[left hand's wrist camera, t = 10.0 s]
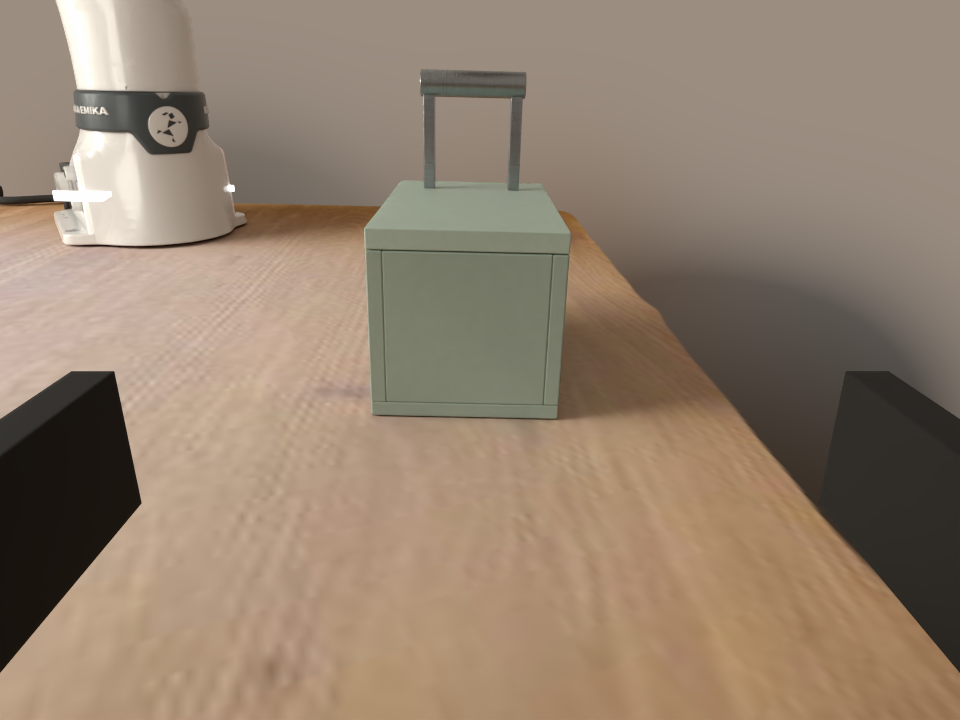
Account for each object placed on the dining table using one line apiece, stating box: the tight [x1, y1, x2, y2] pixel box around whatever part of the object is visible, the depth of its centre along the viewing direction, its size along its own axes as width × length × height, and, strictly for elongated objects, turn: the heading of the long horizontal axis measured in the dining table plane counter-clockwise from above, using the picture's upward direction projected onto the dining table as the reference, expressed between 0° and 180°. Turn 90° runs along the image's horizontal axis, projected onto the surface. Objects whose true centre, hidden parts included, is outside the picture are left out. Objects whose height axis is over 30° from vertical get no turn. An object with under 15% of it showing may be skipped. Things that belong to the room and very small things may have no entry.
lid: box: [364, 69, 571, 254], centre depth 38 cm, size 16×10×8 cm, turn 0°
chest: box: [365, 249, 569, 419], centre depth 40 cm, size 15×10×9 cm, turn 0°
